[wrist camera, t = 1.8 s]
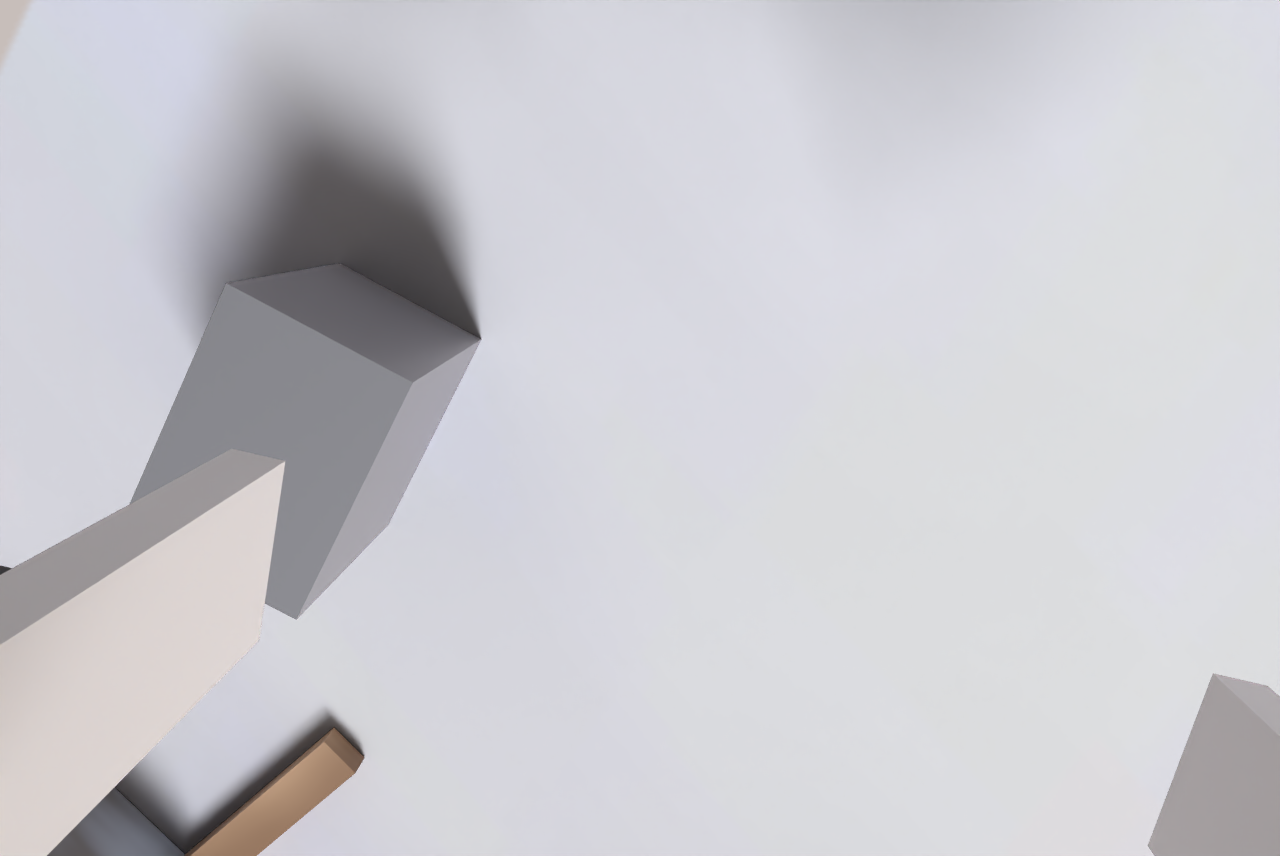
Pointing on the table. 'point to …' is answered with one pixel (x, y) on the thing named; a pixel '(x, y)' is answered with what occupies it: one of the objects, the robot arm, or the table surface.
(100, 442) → the table surface
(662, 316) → the table surface
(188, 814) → the table surface
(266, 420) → the plug block
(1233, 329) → the table surface
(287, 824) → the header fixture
